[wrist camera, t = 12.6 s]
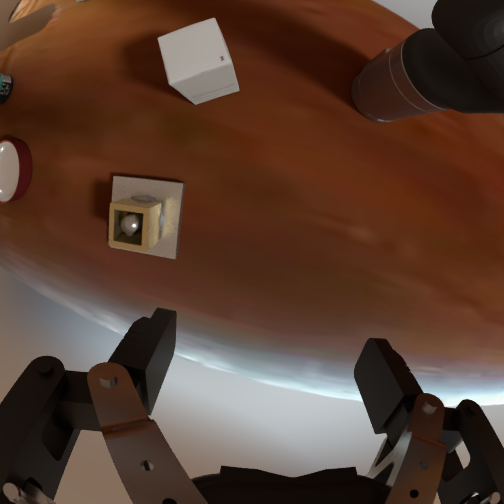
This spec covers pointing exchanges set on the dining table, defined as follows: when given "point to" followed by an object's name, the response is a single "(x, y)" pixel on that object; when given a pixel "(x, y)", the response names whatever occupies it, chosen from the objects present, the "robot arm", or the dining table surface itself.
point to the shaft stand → (170, 213)
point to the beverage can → (5, 87)
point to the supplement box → (198, 62)
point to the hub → (150, 224)
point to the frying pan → (14, 170)
